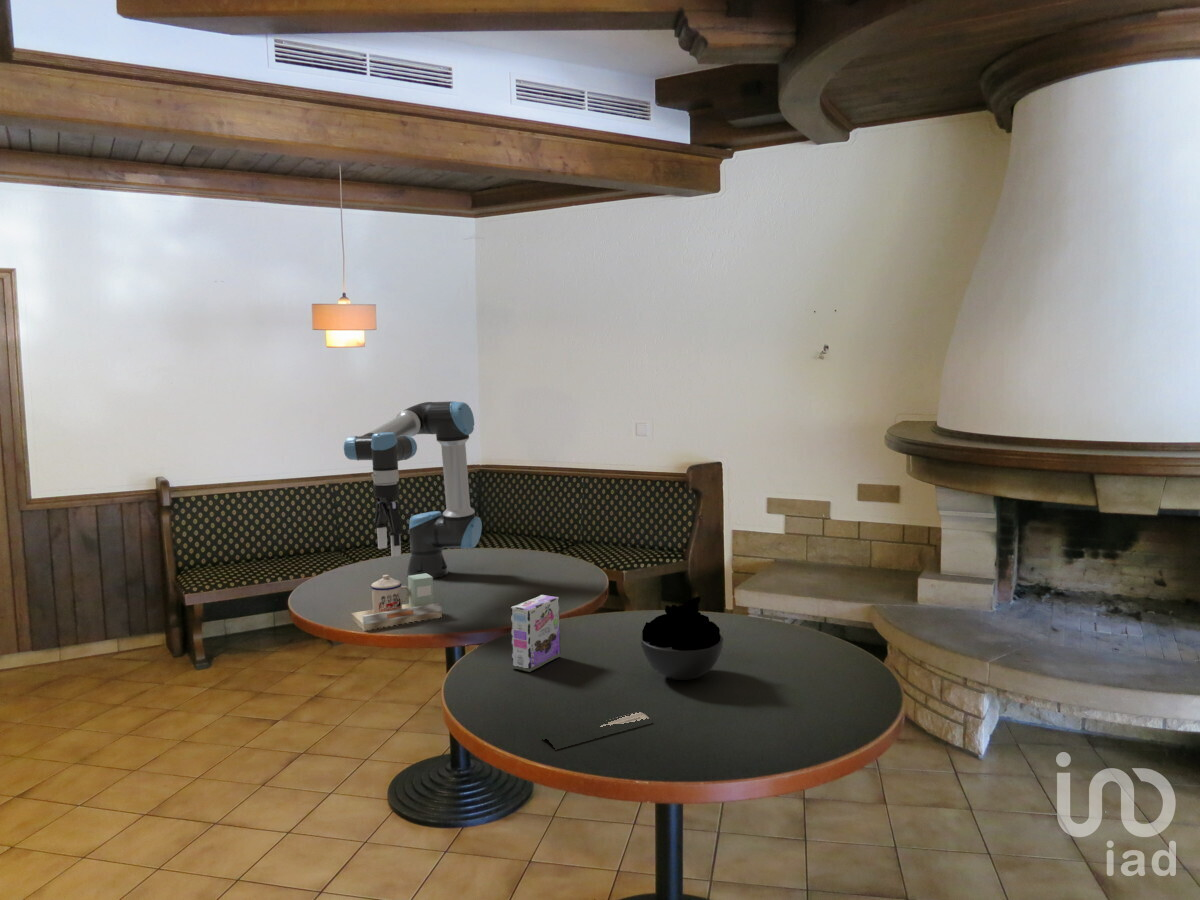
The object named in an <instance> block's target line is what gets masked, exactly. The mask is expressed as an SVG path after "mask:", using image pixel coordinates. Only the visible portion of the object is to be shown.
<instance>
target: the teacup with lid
mask: <svg viewBox="0 0 1200 900" xmlns="http://www.w3.org/2000/svg"><path fill="white" fill-rule="evenodd" d="M370 588H371V594H372V595H371V598H372V610H373V613H374V614H376V613H382V612H388V611H394V610H400V609H402V605H403V604H402V603H405V602H407V601H409V597H410V589H409V588H408V585H402V582H401V581H400V580H399V579H394V578H392V577H390V575H389V574H383V575H382V578H380V579H378V580H377V581H376V580H375V581H374V582H373V583H371V585H370ZM403 589H406V591H407V594H406V596H405V597H404V599H402V590H403Z"/></svg>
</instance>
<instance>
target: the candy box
mask: <svg viewBox="0 0 1200 900" xmlns="http://www.w3.org/2000/svg"><path fill="white" fill-rule="evenodd" d="M510 616H511V617H510V621H511V622H510V624H511V625H510V626H511V628H510V630H511V666H512V665H514V666H519V667H523V668H529V669H530V668H532V667H534V666H536V665H538V664H539V663H541V662H544V661H546V660H547V659H549V658H551V657H553V656H555V655H557V654H559V653H560V654H561V629H560V623H561V622H560V597H559V596H552V595H546V594H540V595H538V596H537V597H534V598H531V599H528V600H526V601H523V602H520V603H519V604H516V605H513V606H511V607H510Z"/></svg>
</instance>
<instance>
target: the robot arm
mask: <svg viewBox="0 0 1200 900" xmlns="http://www.w3.org/2000/svg"><path fill="white" fill-rule="evenodd" d="M474 426H475V417H474V413H473V411H472V409H471V407H470V406H469V404H468V403H466V402H464V401H453V400H452V401H425V402H421V403H418V404H415V405H412V406H410V407H407V408H405V409H403V410H402V411H400V412H398V413H397V415H396V417H395V418H392V419H391V420H389V421H387V422H386V423H383V424H382V425H380V426H378V427H376V428H374V429H373V430H370V431H368V432H367V433H365V434H363V435H359V436H357V435H354V436H348V437H347V438H346V439H345V440H344V444H343V452H344V456H345V457H346V458H347V459H348V460H351V461H352V460H353V461H354V460H355V461H358V462H359V461H372V473H371V475H370V476H371V477H372V479H373V483H374V485H373V496H374V497H375V499H376V501H375V502H376V505H375V506H376V507H375V512H374V525H375V526H376V530H377V531H376V533H377V536H376V537H377V549H378V550H381V549H388V537H387V536H388V535H387V532H388V531H387V527H388V525H389V529H390V533H389V537H390V548H391V549H390V554H391V555H390V556H391V557H392V558H395V557H401V556H402V548H401V547H402V545H401V543H402V542H401V535H402V534H403V533H404V531H403V527H402V526H403V525H402V522H401V521H402V520H401V516H400V511H399V502H398V501H395V500H394V498H395V497H398V496H400V484H399V483H398V482H399V481H400V477H399V476H400V473H399V462H400V461H406V460H409V459H411V458H412V457H414V456H415V455H416V453H417V451H418V445H417V441H416V440H415V439H414V438H413V437H414V436H416V435H435V437H436V442H438V443H439V444H440V445H441V456H442V459H441V460H442V470H443V482H444V483H443V484H444V495H445V506H446V509H444V511H443V512H441V511H439V510H436V511H435V510H434V511H428V512H423V513H418V514H415V515H412V516H411V517H410V518H409V525H408V526H409V527H408V530H409V545H410V557H409V559H408V564H407V568H406V577H407V576H410V575H417V574H424V573H427V574H429V575H430V576H432V577H433V579H438V577H439V578H441V577H445V576H448V574H449V567H448V564H447V562H446V561H447V560H446V558H445V555H444V552H443V549H445V548H447V549H462V550H464V549H473V548H475V547H476V546H477V545H478V543H479V541H480V539H481V536H482V529H483V525H482V524H483V523H482V520H481V517H479V516H476V514H475V513H476V512H475V511H476V510H475V509H474V508H473V507H471V501H470V500H471V499H470V487H469V473H468V461H467V447H466V443H467V442H468V440H469V439H470V435H471V434H472V433H473V432H474V429H475V428H474ZM387 522H388V524H387ZM444 575H445V576H444Z"/></svg>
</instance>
